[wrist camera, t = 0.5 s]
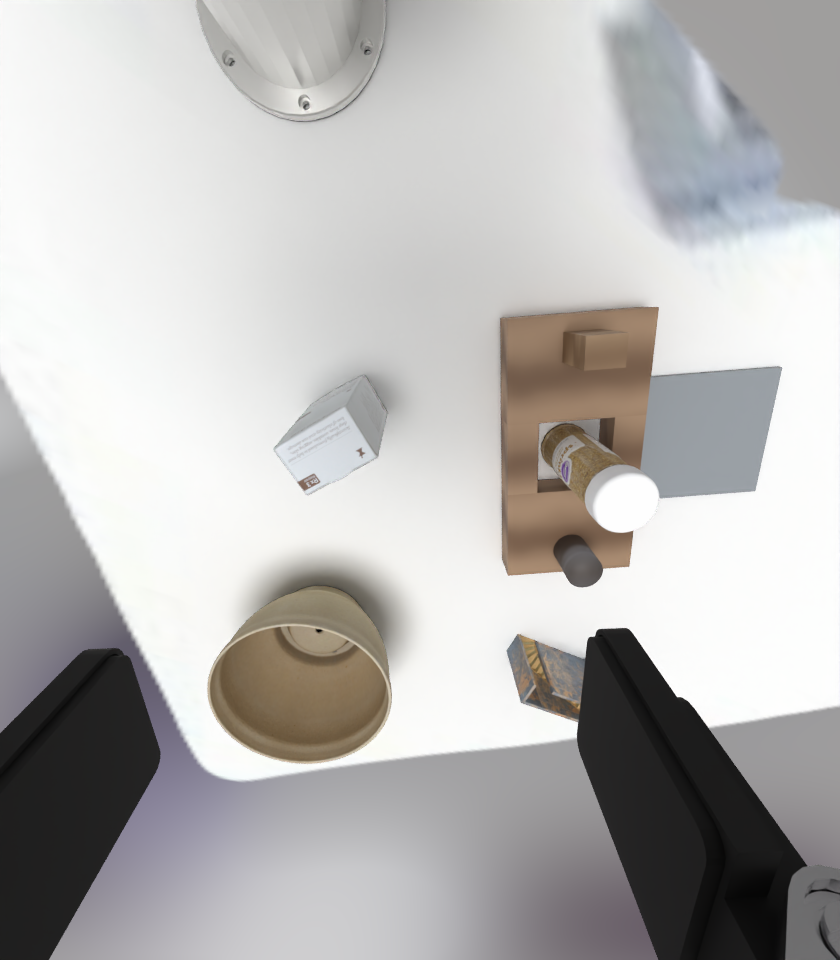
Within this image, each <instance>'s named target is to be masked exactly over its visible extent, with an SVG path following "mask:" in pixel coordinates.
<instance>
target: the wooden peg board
mask: <svg viewBox="0 0 840 960" xmlns="http://www.w3.org/2000/svg"><path fill="white" fill-rule="evenodd" d="M658 310H659V307H634V308H622V309H609V310H597V311H584V312H571V313H559V314H546V315H534V316H521V317H509V318H500V326H501V453H502V560H503V563H504V565H505V568H506V571H507V574H508V575H522V574H535V573H549V572H562V571H563V572H564V573H565V575H566V577H567V579H568V580H569V582H570V583H571V584H572V585H574V586H577V587H588V586H591V585H593V584H595V583H596V582H597V581H598V580H599V579H600V577H601V576H602V573H603V568H616V567H629V564H630V555H631V547H632V538H633V531H630V532H625V533H616V532H611V531H608V530H606V529H605V528H603V527H601V526H600V525H599V524H598V523H597V522H596V521H595V519H594V518H593V517H592V516H591V515H590V514H589V512H588V510H587V508H586V505H585V504H584V503H583V502H582V501H581V500H580V499H579V497H577V495H576V494H575V493H574V492H573V491H572V490H571V489H570V488H569V487H568V486H567V485H566V484H565V483H564V482H563V480H562V479H550V480H538V440H539V423H548V422H561V421H574V420H587V419H600V418H601V422H600V435H599V442H600V443H601V444H602V445H604V446H605V447H607V448H608V449H609V450H611V451H612V452H614V453H615V454H616V455H617V456H619V457H620V458H621V459H622V460H623V461H624V462H625V463H626V464H628V465H629V466H633V467H635V468H637V469H639V470H640V468H641V459H642V450H643V441H644V433H645V424H646V415H647V406H648V397H649V389H650V380H651V371H652V362H653V354H654V345H655V336H656V327H657V319H658Z"/></svg>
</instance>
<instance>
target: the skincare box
mask: <svg viewBox="0 0 840 960" xmlns="http://www.w3.org/2000/svg"><path fill="white" fill-rule="evenodd" d="M386 417H387V411H386V409H385V408H384V406H383V404H382V402H381V401H380V399H379V397H378V396H377V394H376V392H375V391H374V389H373V387H372V386H371V384H370V382H369V381H368V379H367V377H366V376H365V375H363V376H360V377H358V378H356V379H354V380H352V381H350V382H348V383H346V384H344V385H342V386H341V387H339V388H337V389H335V390H334V391H332V392H330V393H329V394H327V395H325V396H324V397H322V398H321V399H319V400H317V401H316V402H314V403H313V404H312V405H310V406H309V408H308V409H307V410H306V411H305V412H304V413H303V414H302V416H301V417H300V418H299V419H298V420H297V421H296V422H295V424H294V425H293V426H292V427H291V428H290V429H289V431H288V432H287V433H286V434H285V435H284V437H283V438H282V439H281V441H280V442H279V443H278V444H277V445H276V446H275V447H274V449H273V450H274V451H275V453H276V454H277V456H278V457H279V458H280V460H281V461H282V462H283V464H284V465H285V466H286V468H287V469H288V470H289V472H290V473H291V475H292V476H293V477H294V479H295V480H296V481H297V483H298V484H299V486H300V487H301V488H302V490H303V491H304V493H305V494H306V495H310V494H312V493H313V492H315V491H317V490H319V489H321V488H323V487H324V486H326V485H328V484H330V483H332V482H335V481H338V480H340V479H342V478H344V477H346V476H347V475H349V474H350V473H351V472H353V471H354V470H356V469H358V468H360V467H362V466H364V465H365V464H367V463H369V462H371V461H372V460H374V459H376V458H377V457H378V454H379V449H380V445H381V441H382V436H383V431H384V426H385V422H386Z"/></svg>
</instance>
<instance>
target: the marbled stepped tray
mask: <svg viewBox="0 0 840 960" xmlns="http://www.w3.org/2000/svg"><path fill="white" fill-rule="evenodd" d="M507 653H508V657H509V661H510V664H511V668H512V672H513V675H514V679H515V682H516V686H517V690H518V693H519V697H520V701H521V703H523V704H526V705H529V706H532V707H535V708H538V709H541V710H544V711H546V712H549V713H552V714H555V715H558V716H561V717H564V718H567V719H570V720H573V721H576V722H578V721H579V712H580V703H581V694H582V685H583V676H584V667H585V659H582V658H579V657H576V656H574V655H571V654H568V653H565V652H563V651H560V650H557V649H555V648H552V647H549V646H547V645H544V644H541V643H539V642H537V641H535V640H532V639H529V638H526V637H524V636H521V634H520V635H517V636H516V638H515V639H514V641H513V642H512V644H511V645H510V647H509V648H508V650H507Z"/></svg>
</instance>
